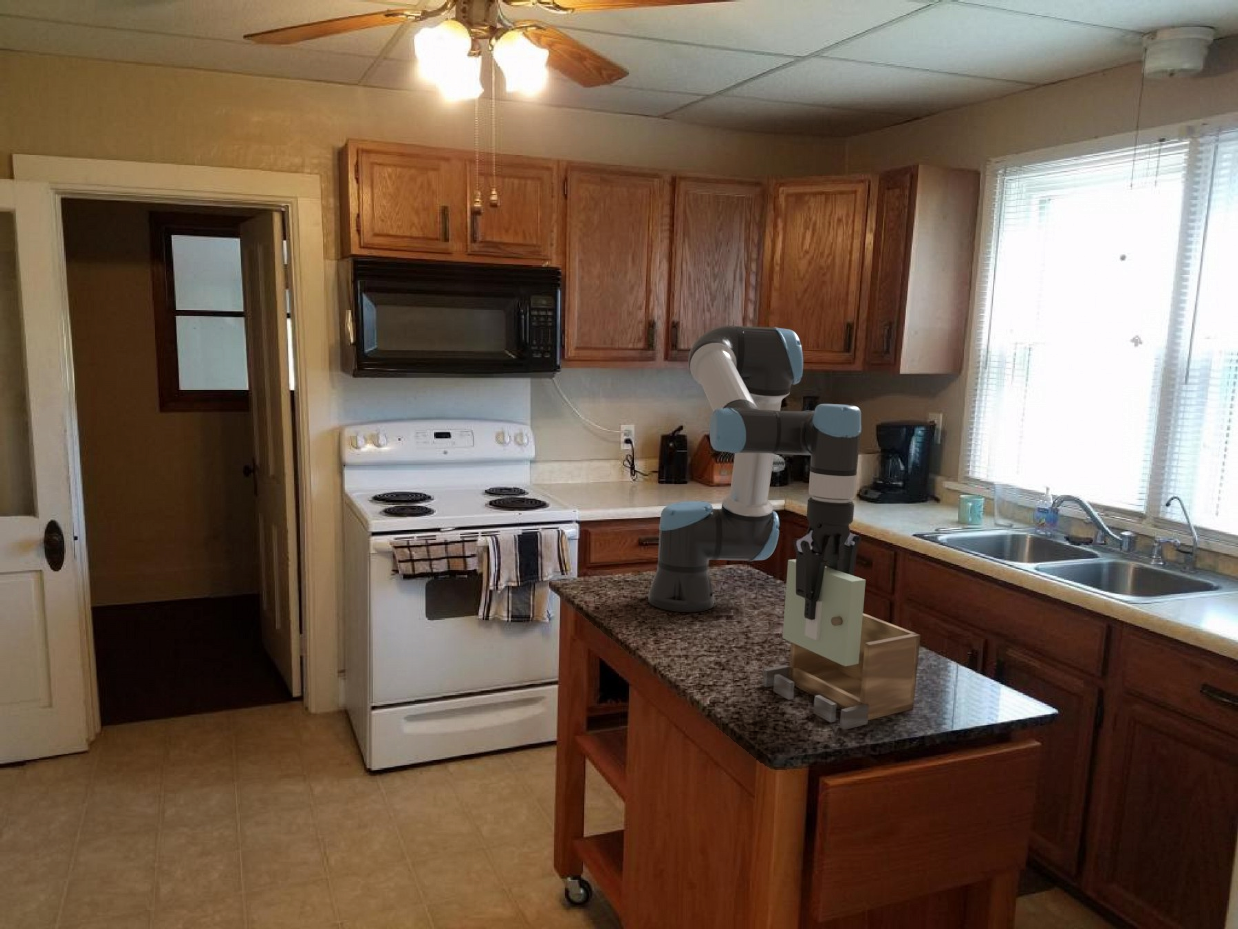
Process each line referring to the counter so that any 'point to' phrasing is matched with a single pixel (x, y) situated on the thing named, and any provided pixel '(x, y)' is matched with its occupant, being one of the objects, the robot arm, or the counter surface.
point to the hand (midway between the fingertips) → (820, 635)
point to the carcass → (855, 676)
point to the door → (828, 616)
